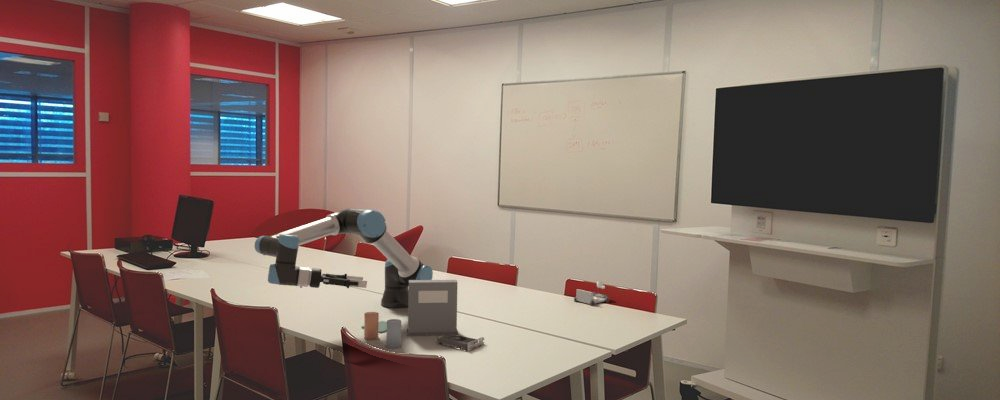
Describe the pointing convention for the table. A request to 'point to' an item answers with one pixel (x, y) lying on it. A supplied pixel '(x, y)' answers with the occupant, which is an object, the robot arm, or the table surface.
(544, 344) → the table surface
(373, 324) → the cylinder
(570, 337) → the table surface
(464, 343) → the graphics card
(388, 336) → the slate cartridge
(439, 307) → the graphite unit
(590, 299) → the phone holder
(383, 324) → the green mat
